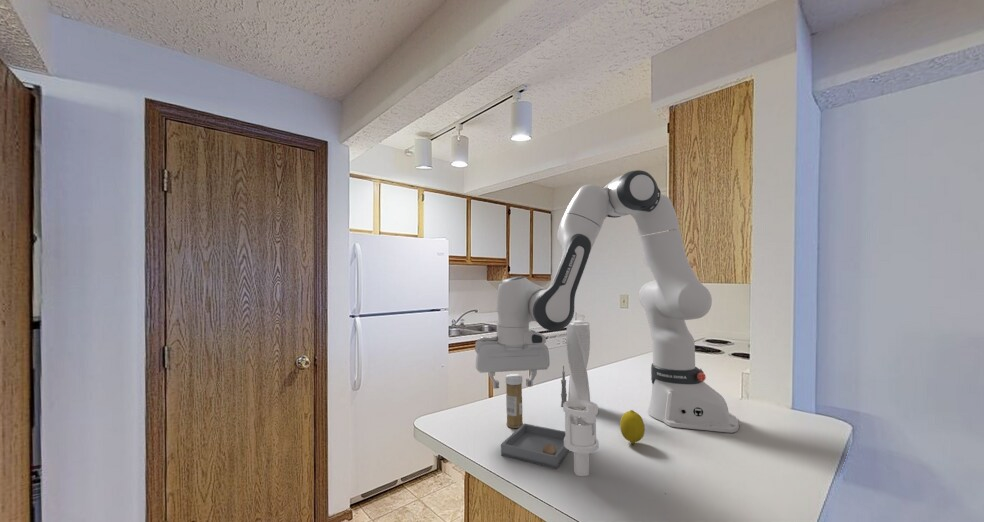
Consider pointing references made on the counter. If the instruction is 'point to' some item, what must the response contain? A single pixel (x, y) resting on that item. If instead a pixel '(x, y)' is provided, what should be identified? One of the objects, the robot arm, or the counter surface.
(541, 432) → the tray
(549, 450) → the wooden ball
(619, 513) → the counter surface
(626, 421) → the lemon
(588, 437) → the white hollow mechanical part
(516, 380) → the sprinkles bottle
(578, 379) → the skyscraper
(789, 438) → the counter surface
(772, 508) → the counter surface
